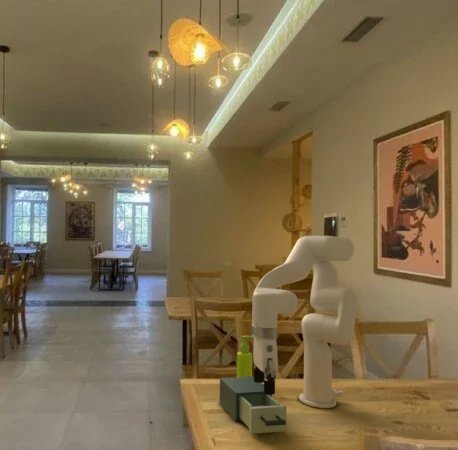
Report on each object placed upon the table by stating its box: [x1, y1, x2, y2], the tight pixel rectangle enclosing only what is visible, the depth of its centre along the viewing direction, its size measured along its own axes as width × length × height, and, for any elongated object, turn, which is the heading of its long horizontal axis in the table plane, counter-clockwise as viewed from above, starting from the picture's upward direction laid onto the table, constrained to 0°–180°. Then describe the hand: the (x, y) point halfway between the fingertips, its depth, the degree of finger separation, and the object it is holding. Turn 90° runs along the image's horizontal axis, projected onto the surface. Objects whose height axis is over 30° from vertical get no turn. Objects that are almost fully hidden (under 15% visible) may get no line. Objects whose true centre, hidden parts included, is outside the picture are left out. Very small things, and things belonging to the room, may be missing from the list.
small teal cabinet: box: [219, 375, 273, 423], centre depth 140 cm, size 15×13×9 cm
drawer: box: [238, 394, 287, 435], centre depth 128 cm, size 18×11×7 cm, turn 12°
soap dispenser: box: [236, 335, 254, 377], centre depth 164 cm, size 6×7×20 cm
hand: (264, 387), depth 127 cm, fingers open, 9 cm apart
